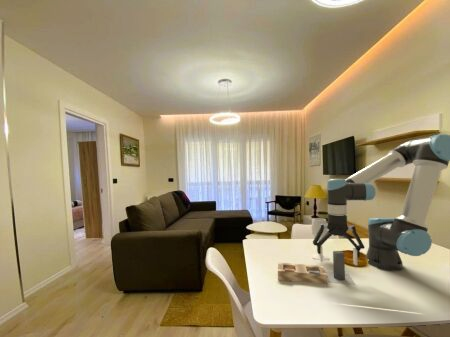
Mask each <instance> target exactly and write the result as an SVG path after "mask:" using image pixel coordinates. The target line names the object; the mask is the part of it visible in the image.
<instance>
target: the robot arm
mask: <svg viewBox="0 0 450 337" xmlns="http://www.w3.org/2000/svg"><path fill="white" fill-rule="evenodd" d="M449 163H450V134H445V133H442V134H433V135H430V136H424V137H418V138H417V137H416V138H413V139H410V140H407V141H405V142H403V143H401V144H399V145H397V146H396V147H394V148H393V149H391V150H389V151H388V152H387V154H386V155H384V156H383V157H382V158H380V159H377V160H376V161H375V162H373V163H371V164H369V165H368V166H366V167H365V168H362V169H361V170H358V171H357V172H356V173H353V174H352V175H350V176H349V177H347V178H329V179H328V180H327V185H326V186H327V188H326V190H327V195H326V196H327V213H328V214H327V225H323V224H320V229H319V231H318V233H317V235H316V237H314V238H313V241H312V244H313V246H316V253H317V254H320V260H319V261H320V263H323V262H324V260H323V255H324V254H323V250H324V249H323V245H324V243H326V242H327V240H328V239H329V238H331V237H332V236H338V237H343V236H345V238H346V239H347V240H348V241H349V242H350V243H351V244H352V245H353V248H352V251H353V253H352V256H353V257H352V258H353V259H352V260H353V261H352V263H353V265H354V266H358V258H360V257H361V256H360V255H361V253H360V252H361V250H363V249H365V245H364V243H363V242H362V239H361V238H360V236H359V234H358V232H357V230H356V226H354V225H353V224H350V225H348V216H347V214H348V207H347V206H348V205H347V204H348V201H364V202H366V201H372V200H374V198H375V197H376V188H375V186H374V185H373V184H372V183H373V182H374V181H377V180H379V179H380V178H381V177H383V176H386V175H387V174H389V173H390V172H392V171H394V170H395V169H397V168H403V167H405V166H407V165H410V164H413V165H414V166H415V168H414V170H413V174H412V176H411V179H410V183H409V186H408V189H407V192H406V196H405V198H404V201H403V204H402V208H401V210H400V214H399V216H396V217H370V218H369V219H368V220H367V228H368V248H367V252H366V254H365V257H366V258H368V259H369V261H368V263H367V264H368V265H370V266H372V267H375V268H377V269H381V270H384V271H385V270H387V271H401V270H402V269H404V265H403V264H404V263H403V260H402V258H401V255H400V253H402V254H405V255H408V256H411V257H421V255H425V254H426V253H428V252H429V251H430V249H431V247H432V244H433V240H432V239H431V238H432V237H431V235H430V234H429V233H428V226H427V224H426V219H427V216H428V214H429V213H428V212H429V210H430V207H431V204H432V200H433V197H434V194H435V191H436V189H437V185H438V182H439V178H440V175H441V171H443V170H446V169H447V168H448V166H449ZM326 228H328V232H327V233H326V234H325V235H324V236H323V238H322V239H321V240H320V241H318V240H319V238H320V237H321V235H322V233H323V231H324V230H325V229H326ZM348 230H349V231H350V232H351V234H352V235H353V237H354V238H355V240H356V242H357V243H356V242H355V241H354V239H352V237H351V236H350V235H349V234H348V233H347V231H348ZM399 252H400V253H399ZM366 258H365V259H366Z"/></svg>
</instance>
